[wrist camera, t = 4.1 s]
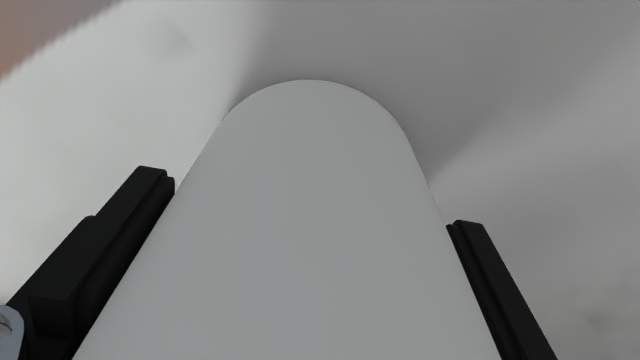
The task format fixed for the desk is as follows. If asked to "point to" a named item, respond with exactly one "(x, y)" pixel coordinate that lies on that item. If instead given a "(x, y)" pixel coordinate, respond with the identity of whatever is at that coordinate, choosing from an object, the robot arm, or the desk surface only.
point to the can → (297, 246)
